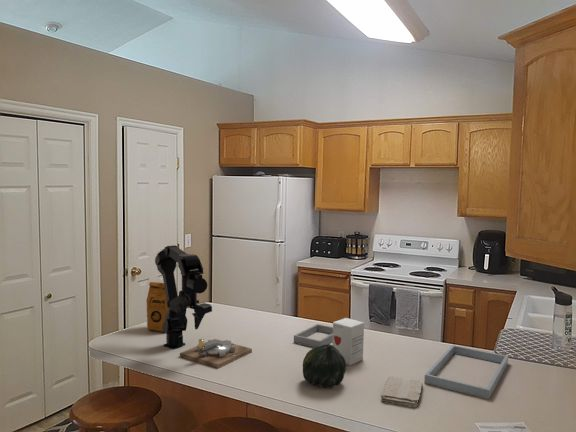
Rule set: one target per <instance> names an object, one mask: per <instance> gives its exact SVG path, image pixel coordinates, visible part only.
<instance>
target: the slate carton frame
mask: <svg viewBox="0 0 576 432" xmlns="http://www.w3.org/2000/svg"><path fill="white" fill-rule="evenodd" d="M454 354H456V355H458V356H459V355H460V356H465V357H470V358H474V359H479V360H484V361H489V362H494V363H498V364H499V366H498V368H497V369H496V371H495V373H494V375H493V377H492V379H491V380H490V382H489V383H488V386H486V387H482V386H479V385H475V384H470V383H467V382H462V381H457V380H453V379H449V378H445V377H440V376H437V375H436V374H437V373H439V371H440V370H441V369H442V368H443V366H444V365H445V364H446V363H447V362H448V361H449V360H450V359H451V357H452V356H453V355H454ZM508 364H509V356H508V355H505V354H500V353H494V352H490V351H484V350H479V349H475V348H470V347H464V346H459V345H454V344H452V345H451V346H450V347H449V348H448V349H447V350H446V351H445V352H444V353H443V354H442V355H441V356H440V357H439V358H438V360H437V361H436V362H434V364H433V365H432V366H431V367H430V368H429V370H427V372H425V374H424V382H423V383H424V384H426V383H427V385H430V384H431V385H430V386H434V385H435V386H434V387H439V388H441V389H442V388H443V389H447V390H450V391H454V392H458V391H459V393H462V394H466V395H470V394H471V395H470V396H474V395H476V396H475V397H478V396H480V397H479V398H482V397H483V398H482V399H486V398H487V399H486V400H490V398H491V397H490V396H492V395H493V393H494V390H495V389H496V387H497V385H498V383H499V381H500V379H501V377H503V374H504V373H505V370H506V368H507V366H508ZM434 375H435V376H434ZM491 394H492V395H491Z"/></svg>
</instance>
